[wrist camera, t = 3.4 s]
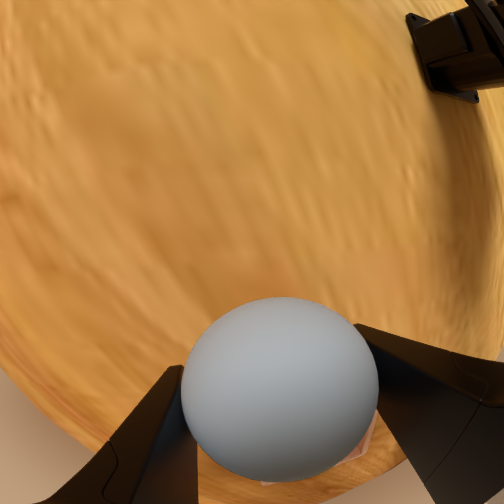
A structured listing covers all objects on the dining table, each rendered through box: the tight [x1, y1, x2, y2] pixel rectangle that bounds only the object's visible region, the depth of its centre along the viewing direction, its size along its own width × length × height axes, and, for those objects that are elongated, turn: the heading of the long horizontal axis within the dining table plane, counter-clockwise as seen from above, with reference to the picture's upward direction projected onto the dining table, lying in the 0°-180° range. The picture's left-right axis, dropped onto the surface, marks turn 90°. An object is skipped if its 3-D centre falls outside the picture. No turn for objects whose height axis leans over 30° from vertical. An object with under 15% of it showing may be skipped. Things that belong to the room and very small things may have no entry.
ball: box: [181, 297, 379, 483], centre depth 6 cm, size 5×5×5 cm
